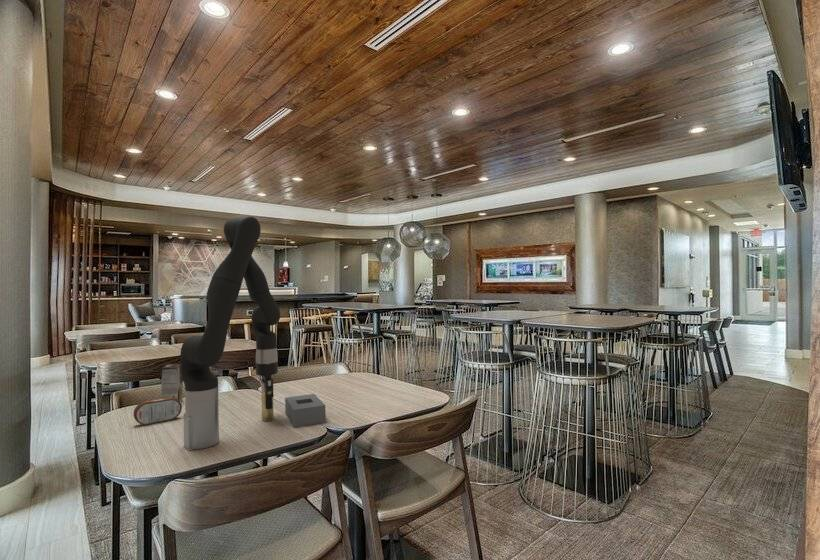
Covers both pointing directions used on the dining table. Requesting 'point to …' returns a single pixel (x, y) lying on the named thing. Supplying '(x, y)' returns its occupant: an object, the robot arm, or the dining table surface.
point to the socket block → (305, 410)
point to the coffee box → (172, 381)
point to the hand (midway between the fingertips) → (267, 405)
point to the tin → (157, 410)
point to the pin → (266, 413)
